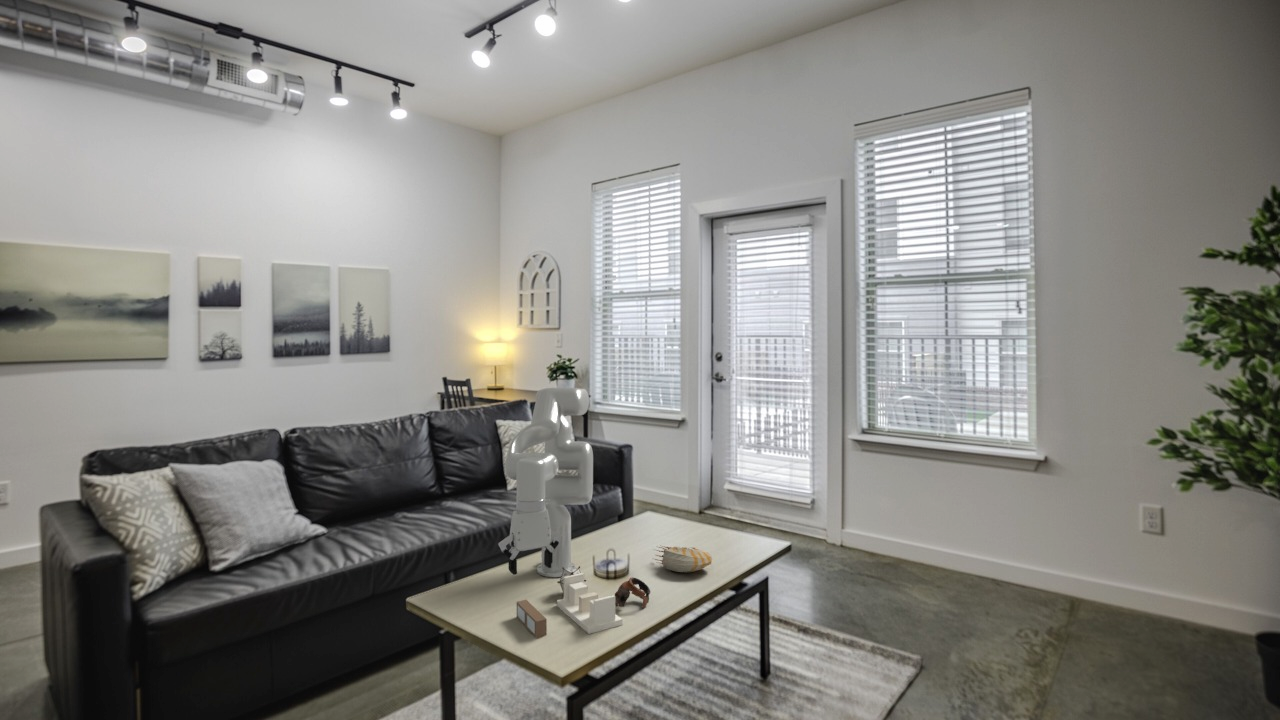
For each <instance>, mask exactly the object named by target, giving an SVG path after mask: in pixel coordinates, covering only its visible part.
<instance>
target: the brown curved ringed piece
mask: <svg viewBox="0 0 1280 720" xmlns="http://www.w3.org/2000/svg"><path fill="white" fill-rule="evenodd" d="M637 585H638V587H639V588H638V587H637ZM631 594H632V595H634V596H635V597H638V598H640V599H641V600H643V601H642V604H641V608H642V609H645V608H646V607H647V604H648V603H649V601H650V594H651V588H649V586H648V585H647V584H646V583H645V582H644V581H642V580H641V579H639V578H637V577H633V576H632V577H630V578H629V579H628V580H627V581H624V582H622V583H621V584H620V585H619V587H618V589H617V591H616V592H615V593H614V596H615V608H616V607H618V606H619V607H621V608H624V607H625V605H626V603H627V601H628V599H629V598H630V595H631Z"/></svg>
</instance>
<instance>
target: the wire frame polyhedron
mask: <svg viewBox="0 0 1280 720" xmlns="http://www.w3.org/2000/svg"><path fill="white" fill-rule="evenodd" d="M562 569H563V573H562V576H561V577H560V578H559V581H557V582H556V583H557V584H559V585H560V587H561V590H562V592H563V595H562V597H563V598H564V577H566V576H570V575H575V574H580V573H582V572H581V571H580V569H581V566H580V565H579V566H578V567H577V568H576V569H564V567H562ZM587 581H588V580H586V579H584V583H585V582H587Z"/></svg>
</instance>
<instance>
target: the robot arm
mask: <svg viewBox="0 0 1280 720" xmlns="http://www.w3.org/2000/svg"><path fill="white" fill-rule="evenodd" d="M589 407H590V396H589V393H588V391H587V390H586V389H585V388H579V387H578V388H577V387H546V388H542V389H539V390H538V391H537V392H536V393H535V404H534V408H533V412H532V417H531V422H530V423H529V424H528V425H527V426H525V427H524V428H523V429H521V430H520V431H519V432H518V433H517V434H515V436H514V437H513V438H512V440H511V442H510V443H509V447H508V449H507V455H506V458H505V464H504V471H505V475H506V476H507V478H508V479H510V480H513V481H515V482H516V495H515V496H516V501H515V502H516V504H515V505H516V506H515V507H516V510H513V511H512V514H511V515H512V516H511V520H510V530H509V535H508V536H506V537H505V538H504V539H502V540H501V541H500V542H498V547H499V548H500V551H501V553H503V554H504V555H505V556H506V557H507V559H508V571H509V573H511V574H513V576H515V575H517V573H518V571H517V570H518V565H517V564H518V560H517V559H516V557H517V556H518V554H519V553H520V552H524V551H530V550H536V549H541V563H540V564H539V565H537V567H536V573H538V574H539V575H540V576H543V577H548V578H561V576H562V573H563V569H562V567H564V569H577V566H576V564H575V563H573V562H572V518H571V514H570V512H569V511H568V510H569V509H568V508H567V507H566V505H576V506H577V505H580V506H582V505H587V504H589V503H591V501H592V499H593V492H594V491H593V490H594V484H593V483H594V452H593V448H592V445H591V444H590V443H589V442H587V441H580V440H579V441H577V440H576V441H575V440H574V441H572V427H571V424H570V421H569V420H568V419H567V417H566V416H583V415H585V414H586V413H587V412H588V410H589ZM542 443H544V452H526V450H528V449H529V448H531V447H534V446H536V445H539V444H542ZM558 471H573V472H574V471H576V472H577V473H578V474H559V473H558ZM508 545H509V546H510V547H511V548H510V549H509V550H508V547H507V546H508Z"/></svg>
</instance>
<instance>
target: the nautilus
mask: <svg viewBox="0 0 1280 720" xmlns="http://www.w3.org/2000/svg"><path fill="white" fill-rule="evenodd" d="M656 548H660V549H662V550H659V549H656V551H657V552H660V553H663V554H662V555H658V554H655V556H657V557H659V558H662V559H656V558H653V557H652V560H655V561H657V562H655V563H657V564H658V563H659V564H661V563H662V565H661V566H660V567H662V566H663V567H664V569H667V570H669V571H673V572H677V573H683V572H684V573H690V574H691V573H694V572H698V571H700V570H702V569H705V568H706V567H707V566H710V565H712V562H713V558H712V555H711V554H709V552H706V551H705V550H702V549H700V548H699V549H698V548H696V547H684V546H683V547H681V546H673V547H672V546H669V547H668V546H662V545H660V546H656ZM653 551H655V549H654V548H653ZM658 561H661V562H658Z"/></svg>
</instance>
